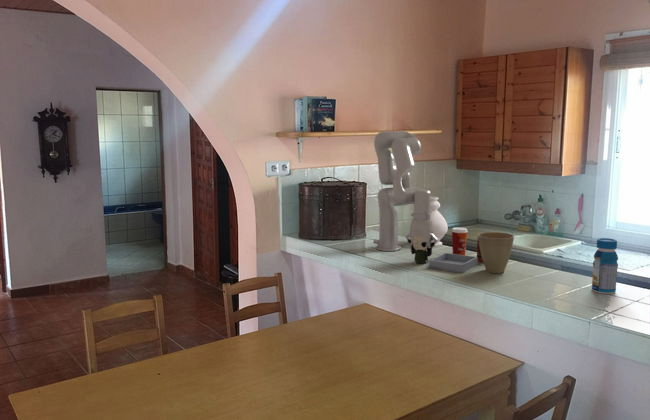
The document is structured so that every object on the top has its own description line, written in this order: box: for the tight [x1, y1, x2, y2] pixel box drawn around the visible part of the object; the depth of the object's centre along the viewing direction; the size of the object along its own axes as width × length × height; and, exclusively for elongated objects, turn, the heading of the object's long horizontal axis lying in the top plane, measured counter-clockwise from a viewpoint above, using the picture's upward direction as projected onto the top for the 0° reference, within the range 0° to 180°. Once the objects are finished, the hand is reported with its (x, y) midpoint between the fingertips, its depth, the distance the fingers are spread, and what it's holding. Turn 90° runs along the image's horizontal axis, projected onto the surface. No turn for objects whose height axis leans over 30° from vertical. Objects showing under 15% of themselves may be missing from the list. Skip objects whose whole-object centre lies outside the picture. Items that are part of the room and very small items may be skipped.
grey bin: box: [428, 252, 479, 274], centre depth 249 cm, size 16×18×4 cm
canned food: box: [476, 238, 483, 263], centre depth 259 cm, size 8×8×11 cm
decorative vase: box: [430, 196, 449, 247], centre depth 297 cm, size 18×18×25 cm
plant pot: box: [477, 231, 515, 274], centre depth 240 cm, size 15×15×16 cm
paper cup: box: [451, 226, 469, 256], centre depth 266 cm, size 8×8×14 cm
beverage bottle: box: [591, 237, 619, 295], centre depth 209 cm, size 8×8×20 cm
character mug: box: [413, 236, 429, 264], centre depth 256 cm, size 11×7×13 cm, turn 130°
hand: (421, 254), depth 256 cm, fingers closed on character mug, 7 cm apart
